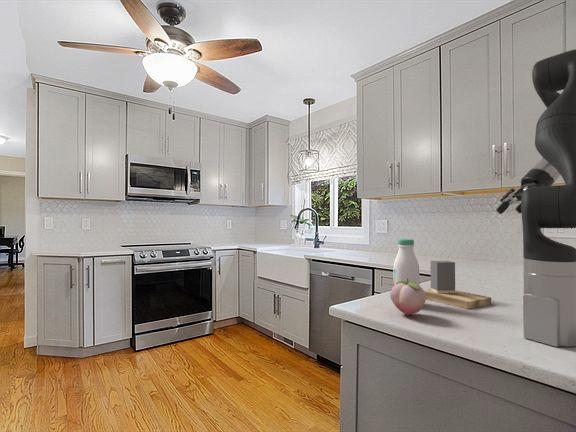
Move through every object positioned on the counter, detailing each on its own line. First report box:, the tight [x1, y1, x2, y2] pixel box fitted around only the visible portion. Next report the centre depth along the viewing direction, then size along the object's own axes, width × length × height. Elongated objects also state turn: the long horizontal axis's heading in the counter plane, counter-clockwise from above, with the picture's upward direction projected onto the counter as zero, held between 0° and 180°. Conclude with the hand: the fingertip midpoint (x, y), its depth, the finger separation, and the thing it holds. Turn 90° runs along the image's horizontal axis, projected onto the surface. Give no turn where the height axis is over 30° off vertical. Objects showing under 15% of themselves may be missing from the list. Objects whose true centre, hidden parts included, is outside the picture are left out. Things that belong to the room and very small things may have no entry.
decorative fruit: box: [389, 278, 427, 316], centre depth 88 cm, size 9×8×10 cm
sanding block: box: [430, 260, 456, 293], centre depth 108 cm, size 6×4×10 cm
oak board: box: [423, 288, 492, 310], centre depth 104 cm, size 12×17×2 cm
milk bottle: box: [392, 238, 421, 288], centre depth 100 cm, size 8×8×20 cm
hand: (507, 211), depth 103 cm, fingers open, 8 cm apart
